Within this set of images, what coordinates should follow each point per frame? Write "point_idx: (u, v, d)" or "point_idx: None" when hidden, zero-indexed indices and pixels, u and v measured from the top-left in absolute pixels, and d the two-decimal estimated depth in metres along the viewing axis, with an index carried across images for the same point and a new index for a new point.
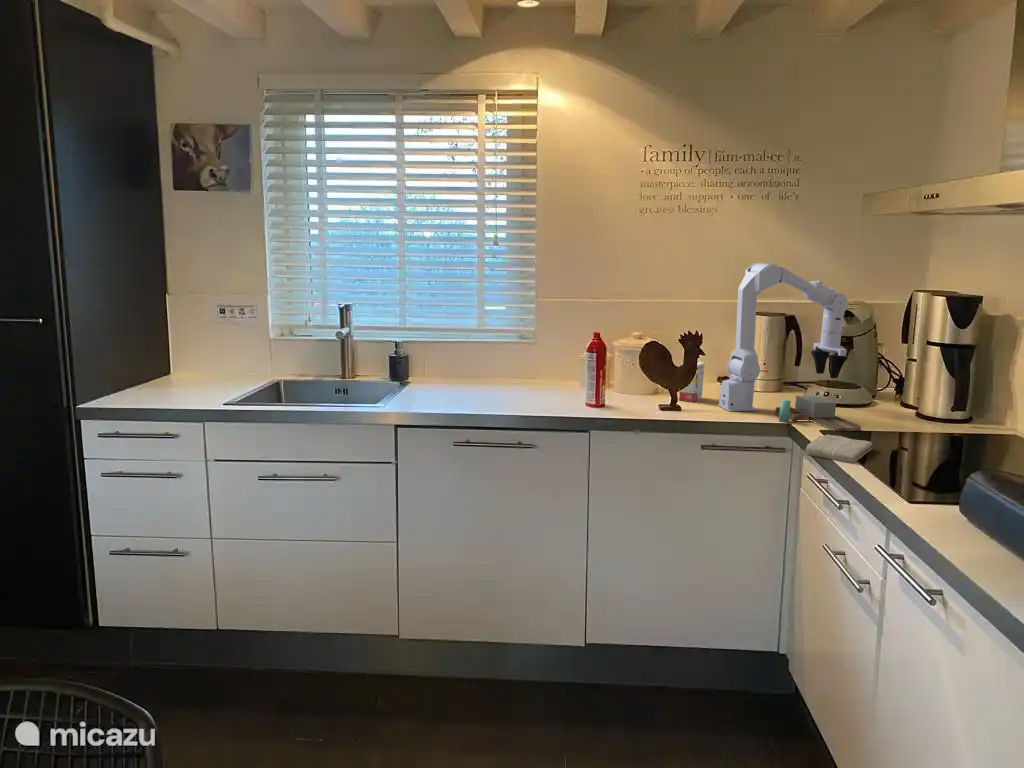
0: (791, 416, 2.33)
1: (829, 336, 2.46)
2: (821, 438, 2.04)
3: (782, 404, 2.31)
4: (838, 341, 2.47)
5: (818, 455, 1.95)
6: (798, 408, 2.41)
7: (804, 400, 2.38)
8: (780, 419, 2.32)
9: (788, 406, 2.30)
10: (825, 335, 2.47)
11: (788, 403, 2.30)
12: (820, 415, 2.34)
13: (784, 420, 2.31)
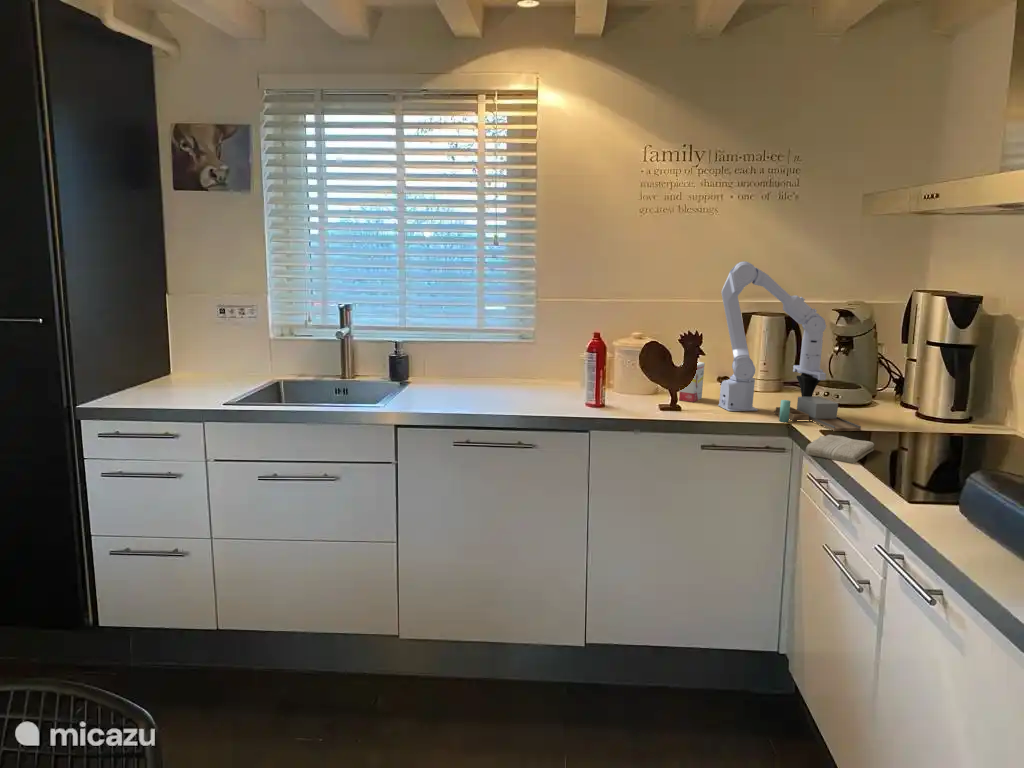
0: (791, 416, 2.33)
1: (808, 359, 2.38)
2: (822, 438, 2.04)
3: (782, 404, 2.31)
4: (818, 364, 2.38)
5: (818, 455, 1.95)
6: (800, 409, 2.40)
7: (806, 401, 2.37)
8: (780, 419, 2.32)
9: (788, 406, 2.30)
10: (804, 358, 2.39)
11: (788, 403, 2.30)
12: (822, 416, 2.33)
13: (784, 420, 2.31)
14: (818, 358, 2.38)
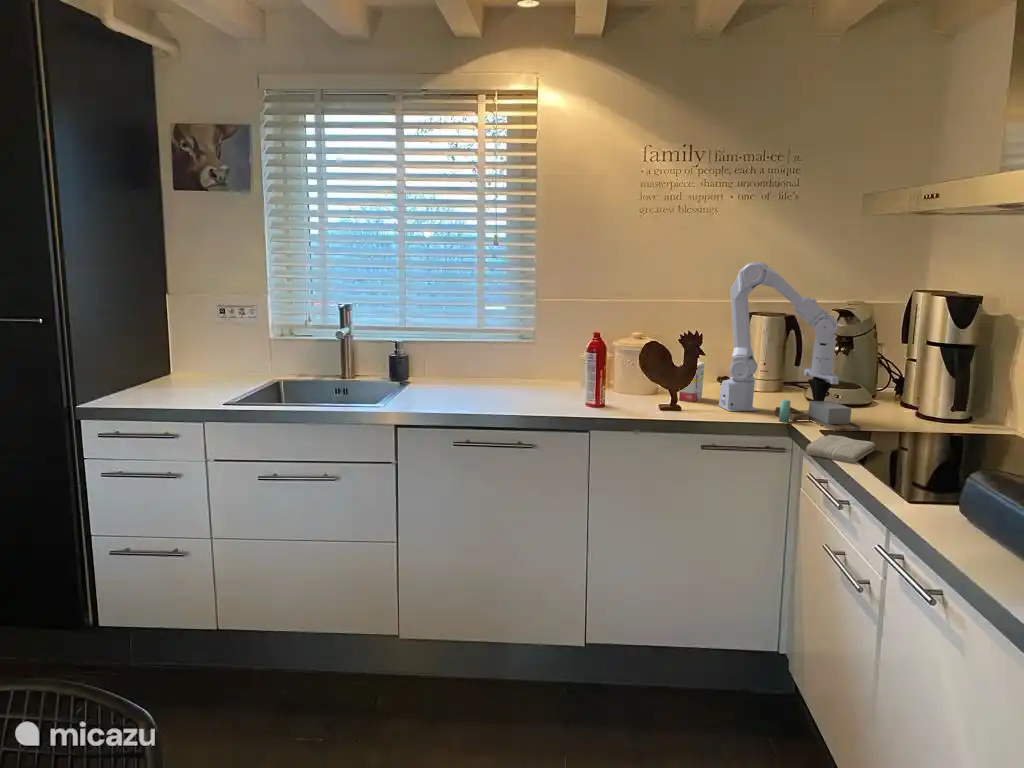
0: (791, 416, 2.33)
1: (820, 363, 2.32)
2: (823, 438, 2.04)
3: (782, 404, 2.31)
4: (830, 368, 2.32)
5: (818, 455, 1.95)
6: (812, 414, 2.34)
7: (818, 405, 2.30)
8: (780, 419, 2.32)
9: (788, 406, 2.30)
10: (816, 362, 2.33)
11: (788, 403, 2.30)
12: (835, 421, 2.26)
13: (784, 420, 2.31)
14: (830, 362, 2.32)
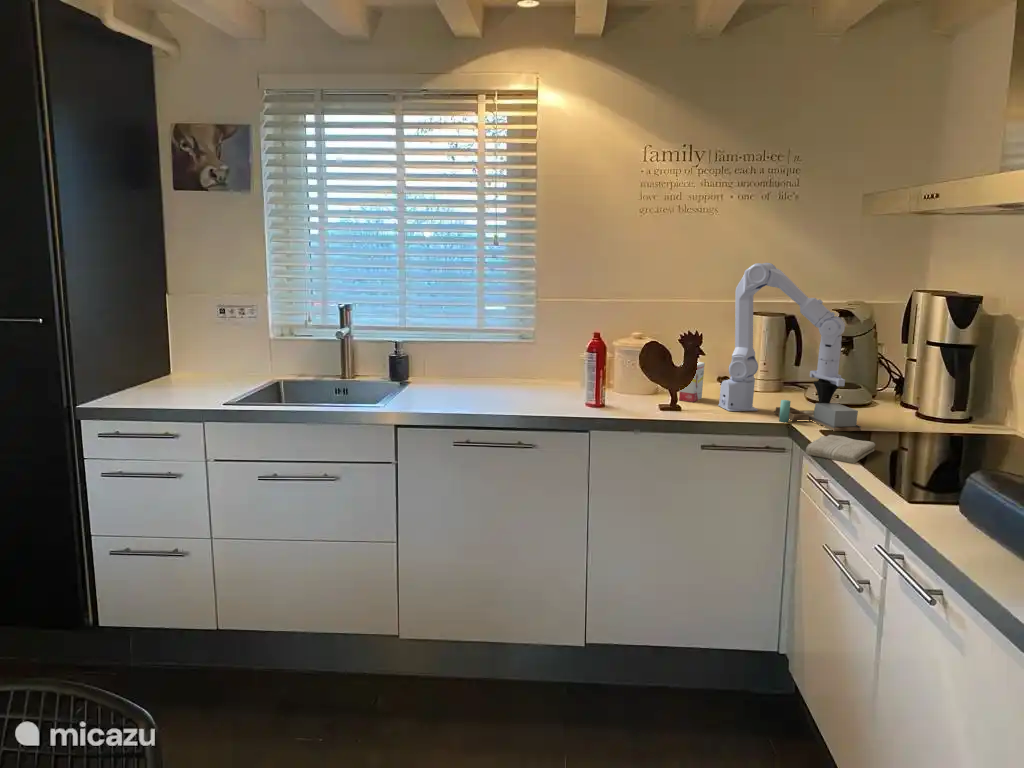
0: (791, 416, 2.33)
1: (826, 364, 2.29)
2: (823, 438, 2.04)
3: (782, 404, 2.31)
4: (836, 370, 2.29)
5: (818, 455, 1.95)
6: (817, 416, 2.31)
7: (824, 408, 2.28)
8: (780, 419, 2.32)
9: (788, 406, 2.30)
10: (822, 363, 2.30)
11: (788, 403, 2.30)
12: (841, 424, 2.23)
13: (784, 420, 2.31)
14: (836, 363, 2.29)
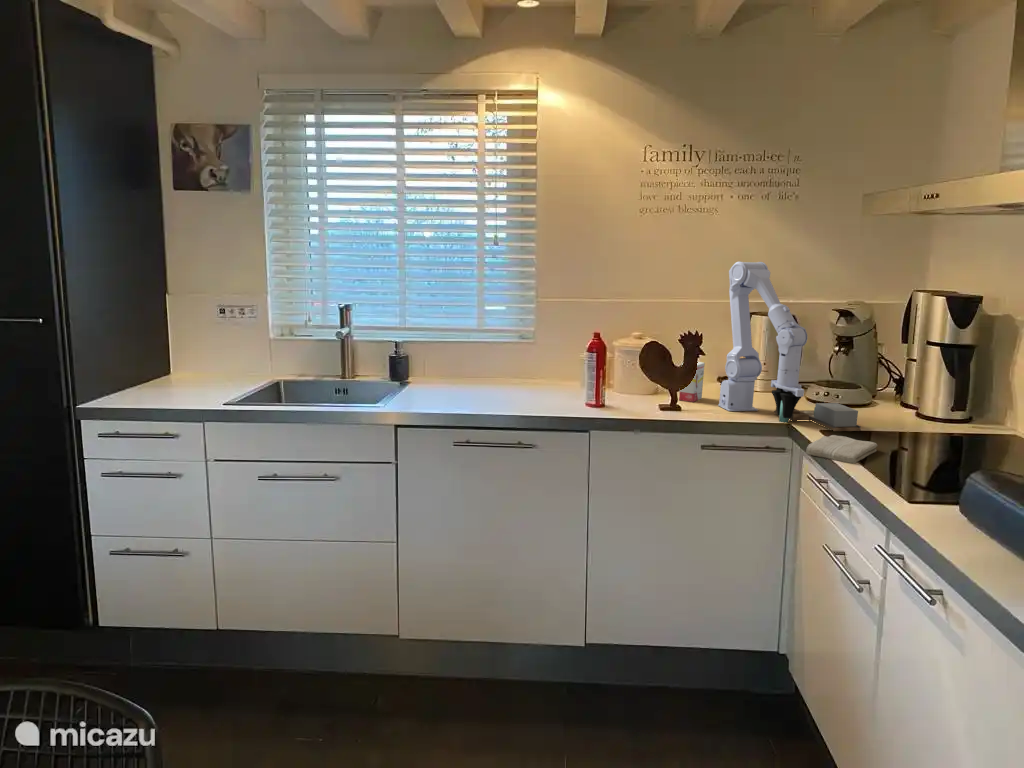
0: (791, 416, 2.33)
1: (786, 374, 2.27)
2: (825, 438, 2.04)
3: (782, 404, 2.30)
4: (796, 380, 2.27)
5: (819, 455, 1.95)
6: (818, 416, 2.31)
7: (824, 408, 2.27)
8: (780, 419, 2.32)
9: None
10: (782, 373, 2.28)
11: None
12: (841, 424, 2.23)
13: (784, 420, 2.31)
14: (796, 373, 2.27)
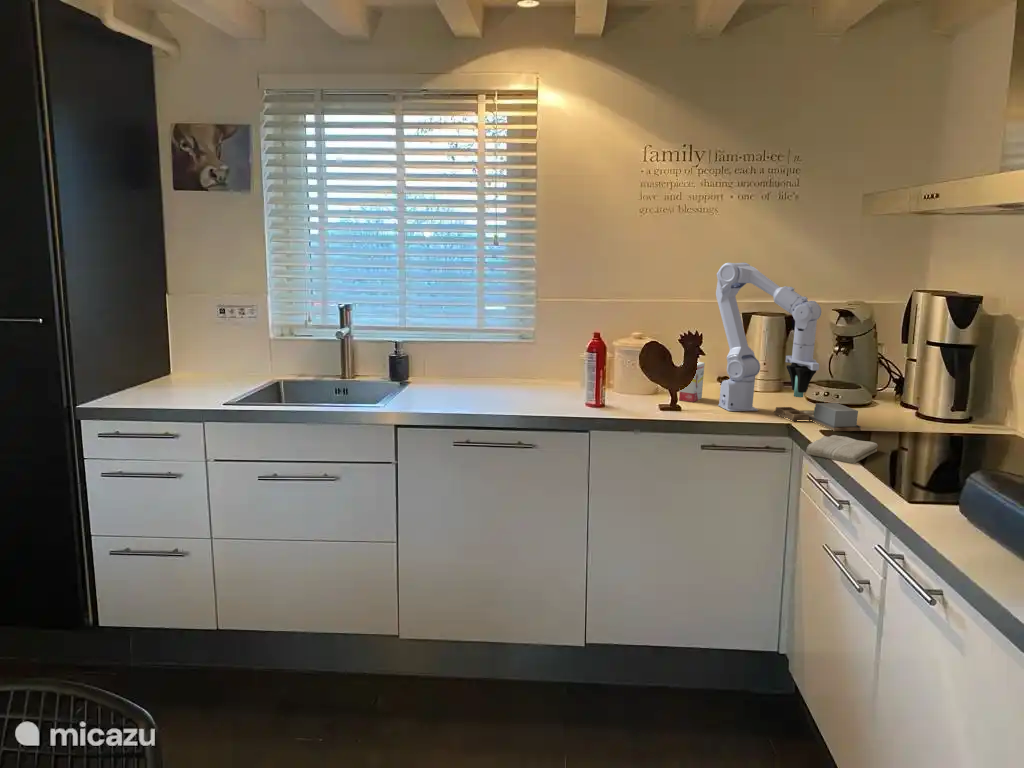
0: (791, 416, 2.33)
1: (801, 349, 2.29)
2: (825, 438, 2.04)
3: (797, 379, 2.32)
4: (811, 354, 2.29)
5: (819, 455, 1.95)
6: (818, 416, 2.31)
7: (824, 408, 2.27)
8: (795, 394, 2.33)
9: None
10: (797, 348, 2.29)
11: None
12: (841, 424, 2.23)
13: (799, 395, 2.32)
14: (811, 348, 2.29)
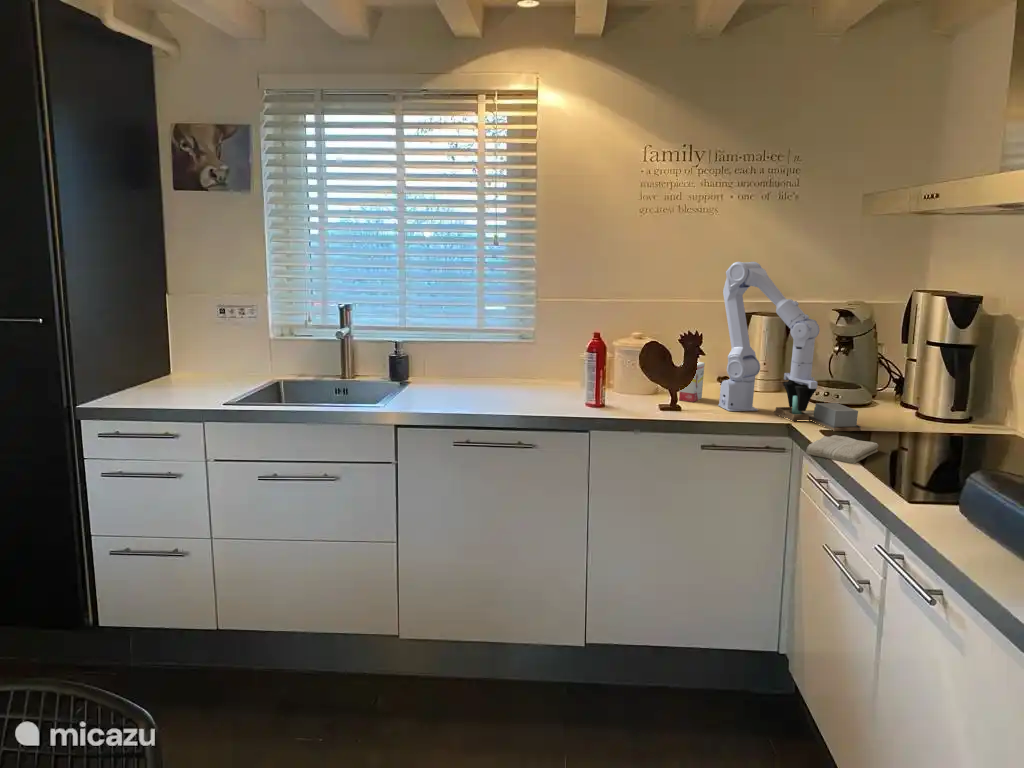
0: (791, 416, 2.33)
1: (799, 367, 2.30)
2: (826, 438, 2.04)
3: (794, 400, 2.33)
4: (809, 372, 2.30)
5: (819, 455, 1.96)
6: (818, 416, 2.31)
7: (824, 408, 2.27)
8: None
9: None
10: (795, 366, 2.30)
11: None
12: (841, 424, 2.23)
13: None
14: (809, 366, 2.30)
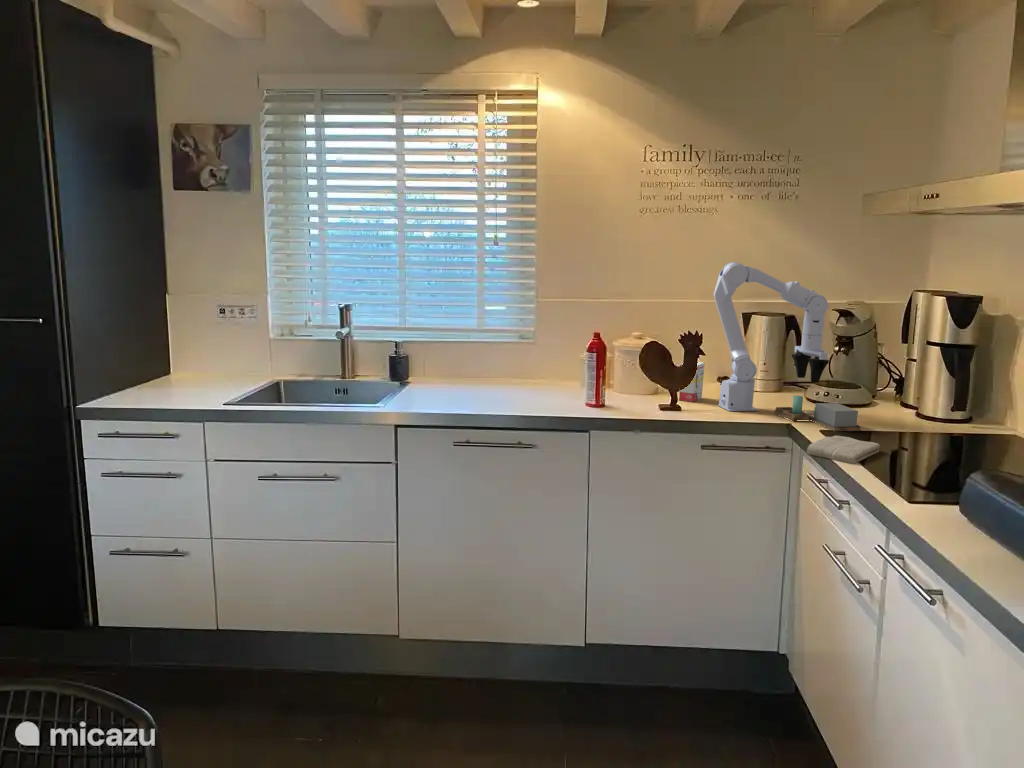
0: (791, 416, 2.33)
1: (810, 339, 2.39)
2: (827, 438, 2.04)
3: (795, 400, 2.33)
4: (819, 344, 2.39)
5: (819, 455, 1.96)
6: (818, 416, 2.31)
7: (824, 408, 2.27)
8: None
9: (801, 401, 2.33)
10: (806, 338, 2.40)
11: (801, 399, 2.33)
12: (841, 424, 2.23)
13: None
14: (819, 338, 2.39)
